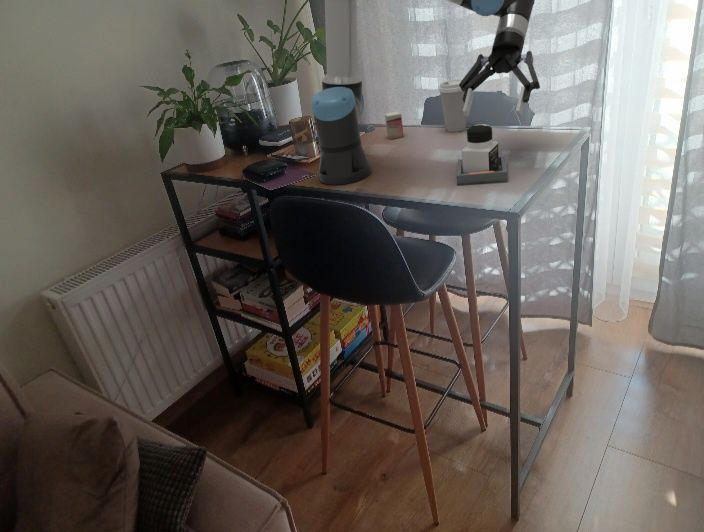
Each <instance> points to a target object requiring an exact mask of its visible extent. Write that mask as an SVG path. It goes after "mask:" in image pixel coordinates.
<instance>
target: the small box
mask: <svg viewBox="0 0 704 532" xmlns="http://www.w3.org/2000/svg"><path fill="white" fill-rule="evenodd" d="M384 118H385V119H384V120H385V128H386V136H387V139H389V140H393V139H398V138H404V136H405V135H404V129H403V127H404V126H403V120H402V113H401V112H400V110H398V111H391V112H388V113H387V112H386V113H384Z"/></svg>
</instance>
